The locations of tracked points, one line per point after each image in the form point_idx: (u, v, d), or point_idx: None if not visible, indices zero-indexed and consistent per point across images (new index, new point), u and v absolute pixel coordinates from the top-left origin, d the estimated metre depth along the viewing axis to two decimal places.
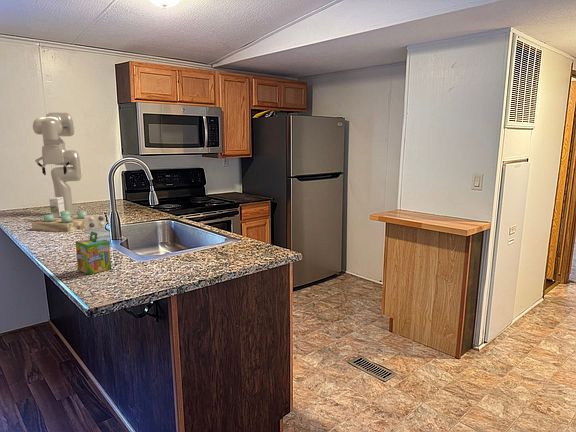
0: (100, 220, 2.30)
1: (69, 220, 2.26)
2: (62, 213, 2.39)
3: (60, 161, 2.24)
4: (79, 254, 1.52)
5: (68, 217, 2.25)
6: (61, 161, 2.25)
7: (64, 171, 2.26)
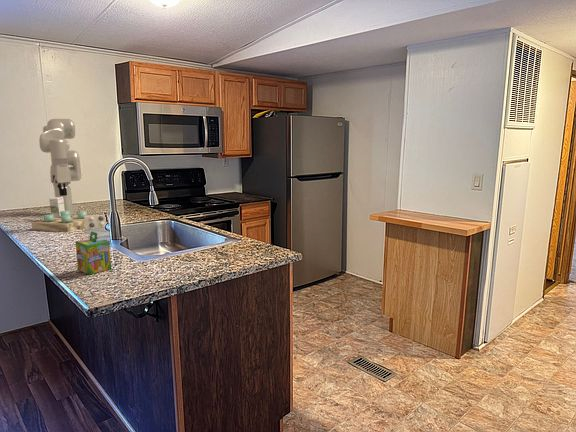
0: (100, 220, 2.30)
1: (69, 220, 2.26)
2: (62, 213, 2.39)
3: (69, 179, 2.25)
4: (79, 254, 1.52)
5: (68, 217, 2.25)
6: (70, 179, 2.26)
7: (66, 192, 2.24)
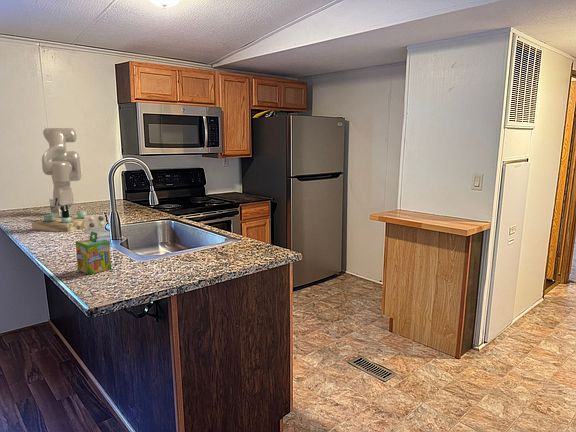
0: (100, 220, 2.30)
1: (69, 221, 2.26)
2: None
3: (71, 201, 2.27)
4: (79, 254, 1.52)
5: (68, 218, 2.26)
6: (72, 201, 2.28)
7: (68, 214, 2.26)
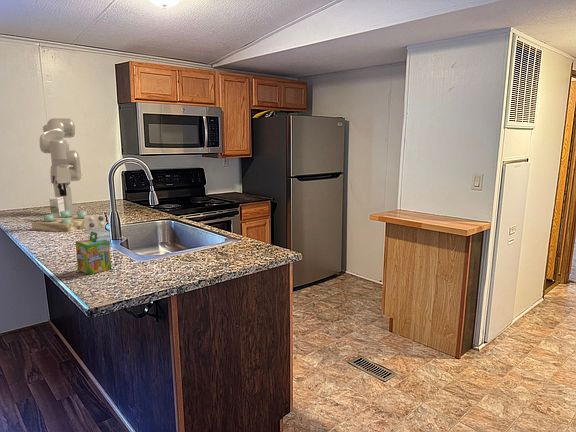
0: (100, 220, 2.30)
1: None
2: (62, 213, 2.39)
3: (69, 180, 2.28)
4: (79, 254, 1.52)
5: (68, 221, 2.26)
6: (69, 180, 2.28)
7: (65, 193, 2.26)
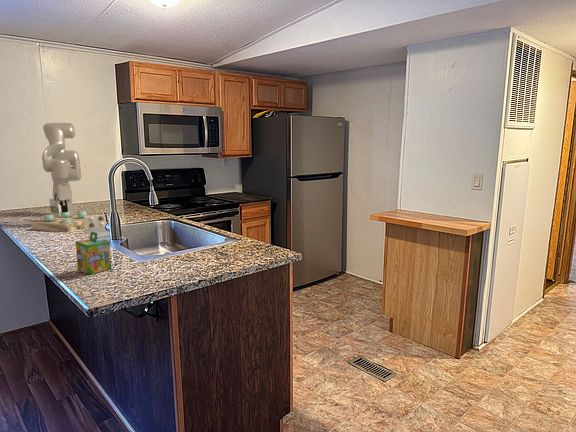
0: (100, 220, 2.30)
1: None
2: (62, 214, 2.39)
3: (70, 197, 2.42)
4: (79, 254, 1.52)
5: (68, 221, 2.26)
6: (70, 197, 2.43)
7: (67, 209, 2.40)
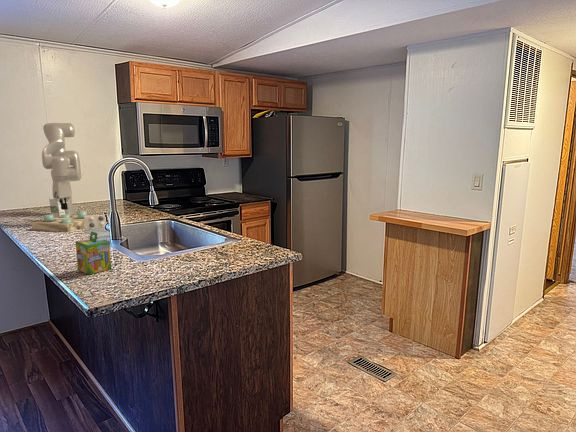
0: (100, 220, 2.30)
1: None
2: (62, 217, 2.39)
3: (70, 194, 2.42)
4: (79, 254, 1.52)
5: (68, 221, 2.26)
6: (70, 194, 2.43)
7: (66, 206, 2.41)
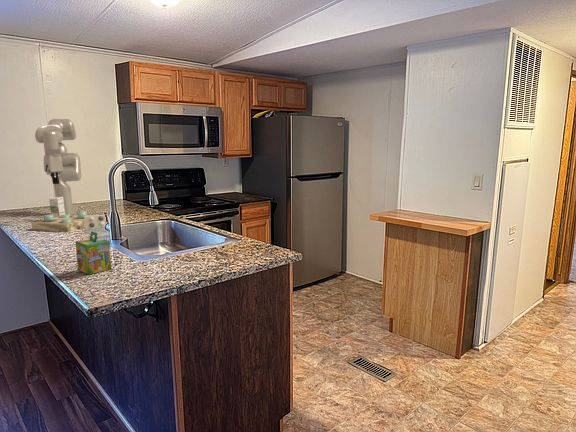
0: (100, 220, 2.30)
1: None
2: (62, 217, 2.39)
3: (61, 169, 2.42)
4: (79, 254, 1.52)
5: (68, 221, 2.26)
6: (62, 168, 2.42)
7: (58, 181, 2.41)
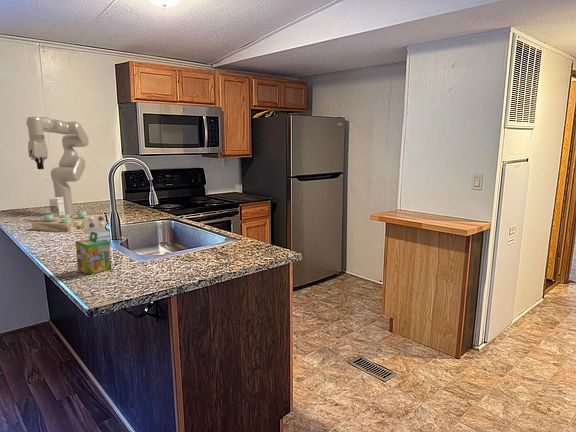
0: (100, 220, 2.30)
1: None
2: (62, 217, 2.39)
3: (46, 154, 2.46)
4: (79, 254, 1.52)
5: (68, 221, 2.26)
6: (46, 154, 2.46)
7: (42, 166, 2.44)
